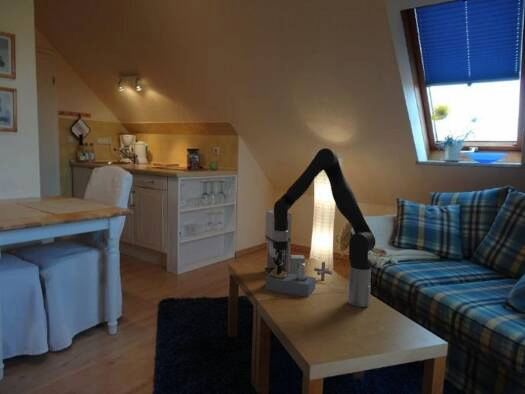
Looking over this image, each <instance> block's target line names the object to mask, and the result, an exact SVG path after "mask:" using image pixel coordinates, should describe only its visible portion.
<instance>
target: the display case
mask: <svg viewBox="0 0 525 394" xmlns="http://www.w3.org/2000/svg"><path fill="white" fill-rule="evenodd" d="M292 215H293V213H292V212H290V211H288V217H287V219H288V248H287V249H285V252H286V253H287V254H286V257H285V261H284V263H283V265H282V271H285V272H289V273H290V255H291V243H292V241H291V240H292V239H291V238H292ZM274 222H275V219H274V209H273V210H271V209H270V210H269V209H268V210H266V211H265V239H264V240H265V242H266V244H267V245H266V267H264V273H265V274H266V275H267V276H269V275H270V272H271V271H273V270H274V269H275V268H276V269H277V265H275V263H274V259H273V257H275V252H276V249H274V248H273V233H274Z"/></svg>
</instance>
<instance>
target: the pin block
mask: <svg viewBox="0 0 525 394" xmlns="http://www.w3.org/2000/svg"><path fill="white" fill-rule="evenodd" d="M316 279H317V278H316V277H314V276H309V275H308V276H307V275H305V282H303V281H297V275H296V274H290V272H289V275H287V276H286V277H285V278H284V279H281V278H278V277H276V276H273V275H267V276H266V277H265V287H264V289H265V291H266V290H267V291H272V292H277V293H284V294H289V295H295V296H301V297H306V298H309V297H310V295H312V293H314V291H315V290H316Z"/></svg>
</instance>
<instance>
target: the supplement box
mask: <svg viewBox="0 0 525 394" xmlns="http://www.w3.org/2000/svg"><path fill="white" fill-rule="evenodd" d="M305 261H306V259H305V255H303V254H290V270H289V273H290V274H296V275H297V263H298V262H303V263H305V264H306V262H305Z"/></svg>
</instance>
